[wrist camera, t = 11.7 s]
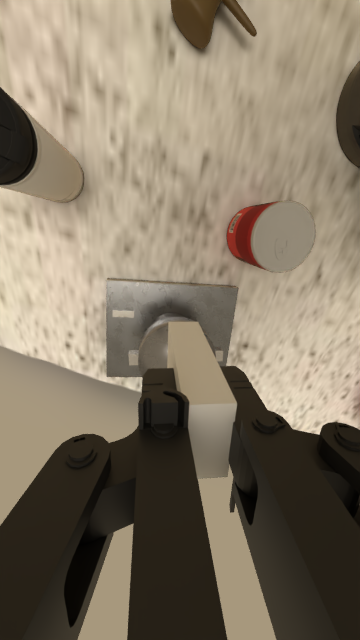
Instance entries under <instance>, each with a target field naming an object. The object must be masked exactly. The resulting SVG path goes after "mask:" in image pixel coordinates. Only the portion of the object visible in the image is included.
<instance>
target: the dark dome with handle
mask: <svg viewBox="0 0 360 640" xmlns="http://www.w3.org/2000/svg"><path fill="white" fill-rule="evenodd" d="M168 322H195V321H193V320H191V319H188V318H185V317H169V318H165V319H162V320H160V321H157V322H156V323H154V324H153V325H152V326H150V327H149V328H148V329H147V330H146V332H145V333H144V335H143V336H142V338H141V341H140V344H139V350H129V366H130V365H138V366H139V371H140V373H141V376H142V377H143V375H144V373H145V372H146V371H147V370H148V369H150V368H167V360H168ZM200 327H201V329H202V331H203V333H204V335H205V337H206V339H207V341H208V343H209V345H210V348H211V350H212V352H213V354H214V356H215V358H216V360H217V361H223V349H222V348H221V347H214V345H213V343H212V341H211V340H210V338H209V336H208V334H207V333H206V331H205V330H204V329H203V328H202V326H200Z"/></svg>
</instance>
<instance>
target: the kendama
mask: <svg viewBox="0 0 360 640" xmlns="http://www.w3.org/2000/svg"><path fill="white" fill-rule="evenodd" d="M221 1H222V2H223V3H224V4H225V5H226V7H227V8H228V9H229V10H230V11H231V13H232V14H233V15H234V16H235V17H236V19H237V20H238V21H239V22H240V23H241V24H242V26H243V27H244V28H245V29H246V30H247V31H248V32H249V33H250V34H251V35H252V36H256V34H257V32H256V29H255V28H254V26H253V24H252V23H251V21H250V20H249V18H248V17H247V15H246V14H245V12H244V11H243V9H242V8H241V7H240V5H239V4H238V2H237V1H236V0H171V9H172V13H173V16H174V19H175V22H176V23H177V25H178V27H179V29H180V31H181V32H182V33H183V35H184V36H185V38H186V39H187V40H188V41H189V42H190V43H191V44H192V45H194V46H196V47H198V48H199V49H202V48H205V47H206V46H207V44H208V43H209V41H210V38H211V34H212V28H213V23H214V18H215V14H216V11H217V8H218V6H219V4H220V2H221Z"/></svg>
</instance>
